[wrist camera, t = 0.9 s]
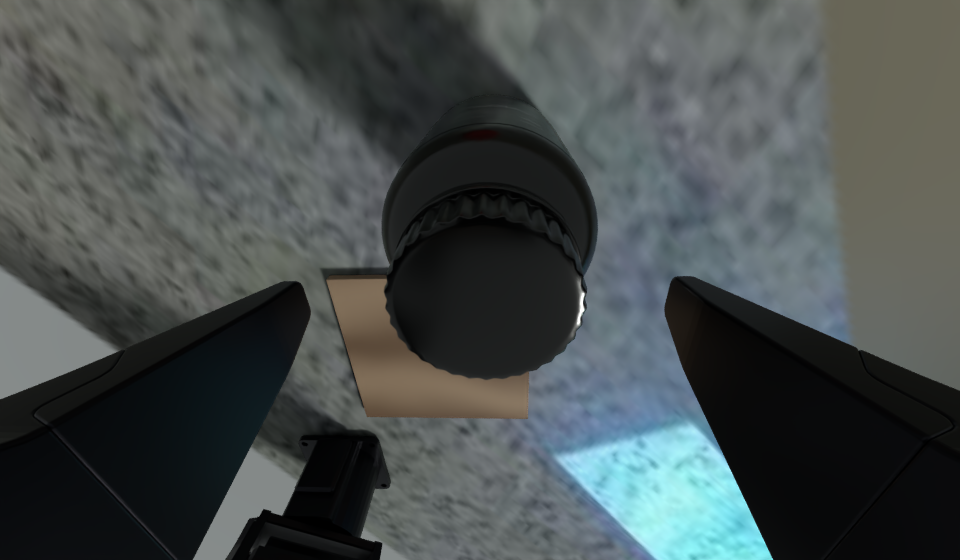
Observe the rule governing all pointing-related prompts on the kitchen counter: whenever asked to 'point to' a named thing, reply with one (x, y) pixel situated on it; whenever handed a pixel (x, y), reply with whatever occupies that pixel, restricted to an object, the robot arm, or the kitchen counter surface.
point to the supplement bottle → (488, 242)
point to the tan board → (410, 365)
